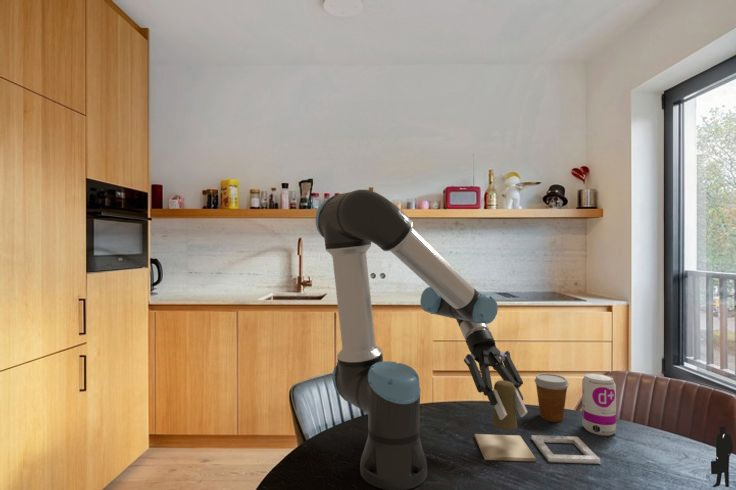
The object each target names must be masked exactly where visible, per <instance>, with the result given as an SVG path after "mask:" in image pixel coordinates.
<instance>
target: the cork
mask: <svg viewBox="0 0 736 490" xmlns="http://www.w3.org/2000/svg"><path fill="white" fill-rule="evenodd" d="M493 390H497V393H498V395H499V397H500V399H501V402H502V404H503V406H504V408H505V411H506V413H507V416H506V417H505V418H504V419H502V420H500V419H499V416H498V414H497V412H496V409H495V407H494V408H493V416H492V417H493V418H492V426H493V427H495V428H497V429H500V430H505V431H513V430H516V429H518V423H517V415H516V407H515V404H514V399H513V395H514V394H515V386H514V384H513V383H511V382H509V381H504V380H503V379H502V380H501V379H500V380H497V381H495V382H494V386H493Z"/></svg>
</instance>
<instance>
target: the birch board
mask: <svg viewBox="0 0 736 490" xmlns="http://www.w3.org/2000/svg"><path fill="white" fill-rule="evenodd" d="M474 439H475V441H476V443H477V445H478V447H479V449H480V452H481V454H482V457H483V459H484V460H485V461H486V460H487V461H512V462H535V461H537V460H536V456H535V455H534V454H533V452H532V451H531V449H530V448H529V446H528V445H527V443H526V442H525V441H524V439H523V438H522V436H521V435H518V434H517V435H516V434H513V435H512V434H485V433H474Z"/></svg>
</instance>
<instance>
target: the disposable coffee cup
mask: <svg viewBox="0 0 736 490" xmlns="http://www.w3.org/2000/svg"><path fill="white" fill-rule="evenodd" d="M534 383H535V385H536V387H535V388H536V392H537V393H536V394H537V400H538V401H537V402H538V409H539V416H540V418H542V419H544V420H546V421H549V422H555V423H556V422H562V421H564V413H565V407H566V406H565V405H566V398H567V391H568V387H569V385H570V383H569V382H568V379H567V378H566V377H565V376H562V375H558V374H554V373H539V374H536V375H535V379H534Z"/></svg>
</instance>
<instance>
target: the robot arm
mask: <svg viewBox="0 0 736 490" xmlns="http://www.w3.org/2000/svg"><path fill="white" fill-rule="evenodd" d="M413 223H414V222H413V220H412V219H411V218H410V217H409V216H407V214H406V213H405V212H404V211H403V210H402V209H400V208H399V207H398V206H397V205H396V204H395V203H394V202H392V201H391V200H389V199H388V198H386V197H385V196H384V195H381V194H380V193H378V192H376V191H373V190H369V189H355V190H353V191H349V192H345V193H339V194H334V195H333V196H331V197H328V198H326V199H325V200H324V201H323V202H322V203H321V204H320V206H318V209H317V210H316V214H315V227H316V229H317V231H318V233H319V234H320V235H321V237H322V238H324V239H323V240H324V246H325V248H324V249H325V251H326V252H327V253H329V255H331V257H332V262H333V263H332V264H333V265H332V266H333V274H334V282H335V283H334V284H335V293H336V301H337V302H336V303H337V310H338V311H337V312H338V320H339V321H338V322H339V330H340V340H341V349H340V351H339V352H338V353H337V354H336V355H337V357H336V359H337V362H336V365H335V367H333V371H332V384H333V387H334V390H335V391H336V392H337V394H338V395H339V396H340V397H341V398H342V399H343V400H344V401H345V402H347V403H349V404H350V405H353V406H354V407H356V408H357V409H359V410H361V411H362V412H364V414H367V415H368V416H367V417H368V419H367V420H368V421H367V422H368V423H367V425H368V426H367V428H368V429H367V430H368V432H367V433H368V435H367V438H366V442H365V445H364V447H363V451H362V453H361V454H362V455H361V457H360V463H359V474H360V477H362V479H363V480H364V482H366V483H367V484H368V485H371V486H373V487H375V488H377V489H381V490H411V489H413V488H417V487H418V486H420V485H422V484H423V483H424V482H425V481H426V479H427V477H428V464H427V462H428V461H427V458H426V456H425V453H424V449H423V445H422V443H421V439H420V418H421V416H420V414H421V413H420V412H421V410H420V408H421V387H420V386H421V385H420V377H419V374H418V372H417V371H416V370H415V369H414V368H412V367H411V366H409V365H407V364H405V363H401V362H396V361H387V360H386V361H384V356H383V350H382V349H381V348H380V347H379V346H378V345H377V344H376V337H375V336H376V335H375V328H374V318H373V316H374V315H373V307H372V297H371V288H370V281H369V280H370V279H369V268H368V261H367V260H368V259H367V253H368V252H367V251H369V249H370V248H371V247H372V243H373V244H375V245H376V246H377V247H379V249H381V250H382V251H383V252H391V253H392V254H393V255H394V256H395V257H396V258H397V259H398V260H400V262H402V263H403V264H404V265H405V266H406V267H407V268H409V269H410V270H411V271H412V272H413V273H414V274H415V275H416V276H418V278H420V279H421V280H422V282H424V283H425V284H426V285H427V287H426V288H425V289H424V290H423V291H422V293H421V295H420V299H419V301H420V303H419V304H420V307H421V309H422V310H423V311H424V312H425V313H428V314H431V315H436V316H441V317H447V318H450V319H455V320H456V323H457V325H458V326H459V329H460V331H461V333H462V336H463V338H464V340H465V344H466V345H467V348H468V350H469V352H470V354H469V353H468V354H467V355H466V356H465V357H464V358H463V362H464V363H465V365H466V366H467V367H468V370H469V372H470V373H469V374H470V375H471V378H472V379H473V382H474V385H475V387H476V391H477V392H478V393H483V395H484V396H486V397H487V399H488V400H489V403H490V405H491V406H494V408H495V409H496V412H497V414H498V416H499V419H500V420H502V419H504V418H505V417H506V416H507V413H506V411H505V408H504V406H503V404H502V402H501V399H500V397H499V395H498V393H497V390H494V387H493V383H492V377H491V372H490V367H492V369H493V370H494V371H496V372H497V373H498V375H499V377H501V379H502V380H503V381H509V382H511V383H513V384H514V386H515V394H514V395H513V399H514V406H515V410H516V411H517V413H518V415H519V417H520V418H522V417H524V416H525V415H527V414H528V409H527V407H526V405H525V403H524V396H523V394H522V392H521V390H520V387H522V385H524V382H523V379H522V378H521V375H520V373H519V372H518V370H517V367H516V365H515V364H514V362H513V360H512V358H511V352H510V351H509V350H506V351H501V350H500V348H498V347H497V345H496V340H495V338H494V337H493V335H492V332H491V330H490V328H489V326H488V324H491V323H492V322H494V320H495V319H496V318H497V315H498V310H499V307H498V306H499V305H498V302H497V300H496V299H495V297H494V296H493V295H489V294H486V293H480V292H479V291H478V290H477V289H475V288H474V287H473V286H472V284H470V283H469V282H468V281H467V280H466V279H465V277H464V276H462V275H461V274H460V273H459V272H458V271H457V270H456V269H455V268H454V267H453V266H452V264H450V263H449V262H448V260H446V259H445V258H444V257H443V256H442V255H441V254H440V253H439V252H438V251H437V250H436V249H435V248H434V247H433V246H432V245H431V244H430V243H429V242H428V241H427V240H425V238H423V236H421V234H419V233H418V232H417V230H415V228H413ZM477 363H478V364H477Z"/></svg>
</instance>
